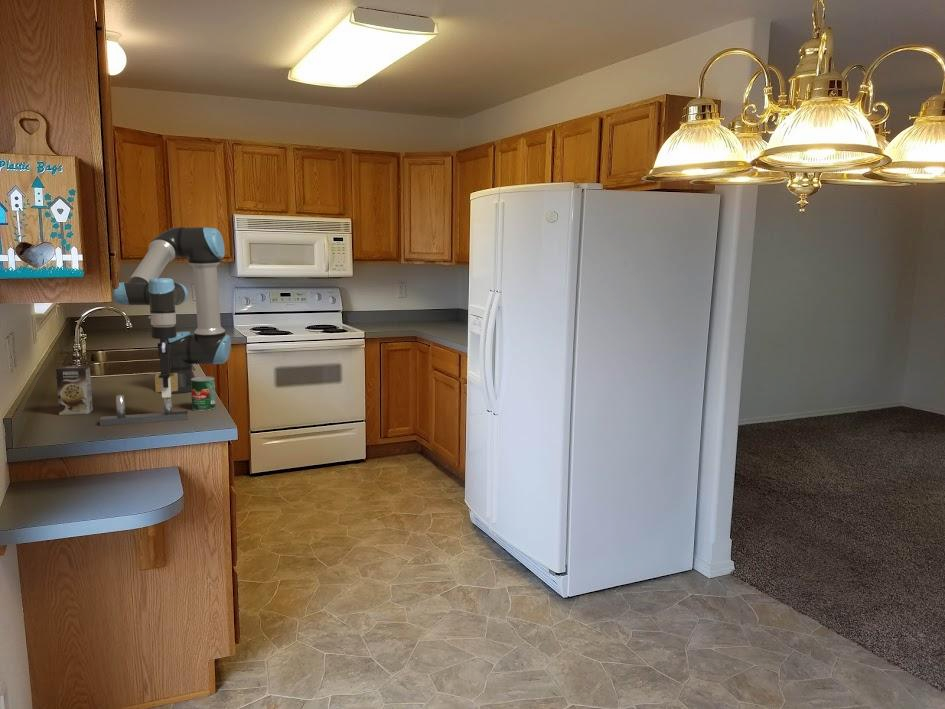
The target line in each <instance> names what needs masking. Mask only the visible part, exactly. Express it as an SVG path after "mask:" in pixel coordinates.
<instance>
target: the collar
mask: <svg viewBox="0 0 945 709" xmlns="http://www.w3.org/2000/svg"><path fill="white" fill-rule="evenodd" d="M169 374H170V384H171V391H178V373H169ZM159 376H160V373H155V376H154V383H155V385H154V386H155V393H161V392H162V389H161V378H159Z"/></svg>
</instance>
